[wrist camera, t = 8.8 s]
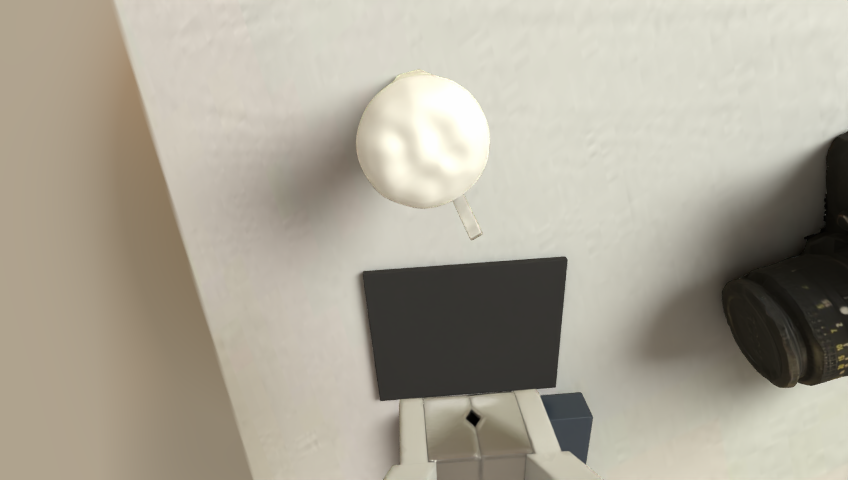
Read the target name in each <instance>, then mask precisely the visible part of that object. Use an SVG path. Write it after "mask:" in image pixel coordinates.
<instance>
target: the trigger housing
mask: <svg viewBox="0 0 848 480" xmlns="http://www.w3.org/2000/svg"><path fill="white" fill-rule="evenodd" d="M540 397H541V400H542V402H543V405H544V407H545V410H546V413H547V415H548V418H549V420H550V423H551V425H552V428H553V430H554V433H555V436H556V438H557V441H558V443H559V446H560V448H561V451H569V452H571V453H572V454H573V455H574V456H576V457H577V458H578V459H579V460H581V461H582V462H583V463H584V464H585V465H586V460H587V454H588V447H589V440H590V433H591V426H592V419H593V416H592V414H591V412H590V410H589V408H588V406H587V403H586V401H585V399H584V397H583V395H582V393H568V394H555V395H542V396H540Z"/></svg>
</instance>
